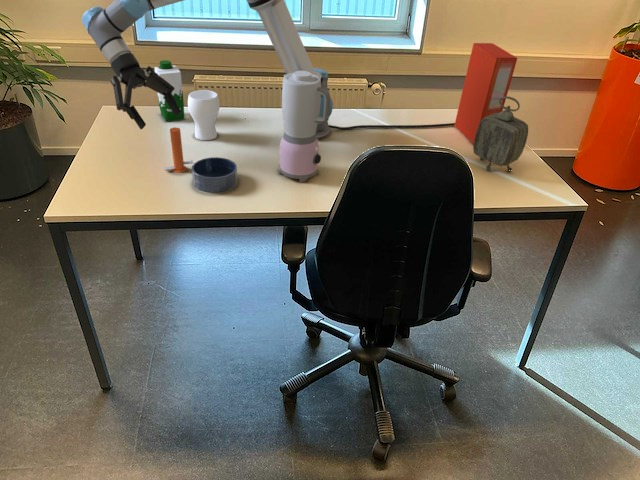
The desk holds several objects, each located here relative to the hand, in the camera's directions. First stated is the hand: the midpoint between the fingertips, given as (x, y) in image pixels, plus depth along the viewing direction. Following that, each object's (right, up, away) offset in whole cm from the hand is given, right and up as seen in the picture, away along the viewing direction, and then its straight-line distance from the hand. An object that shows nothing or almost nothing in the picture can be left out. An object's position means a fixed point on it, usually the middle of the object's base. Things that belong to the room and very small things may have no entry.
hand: (161, 120), depth 158 cm
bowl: (+16, -19, +1) cm, 25 cm away
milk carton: (-8, +10, +40) cm, 42 cm away
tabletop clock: (+106, -12, +20) cm, 109 cm away
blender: (+42, -15, +9) cm, 46 cm away
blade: (+4, -15, +6) cm, 16 cm away
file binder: (+107, +4, +42) cm, 115 cm away
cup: (+7, +1, +28) cm, 29 cm away
